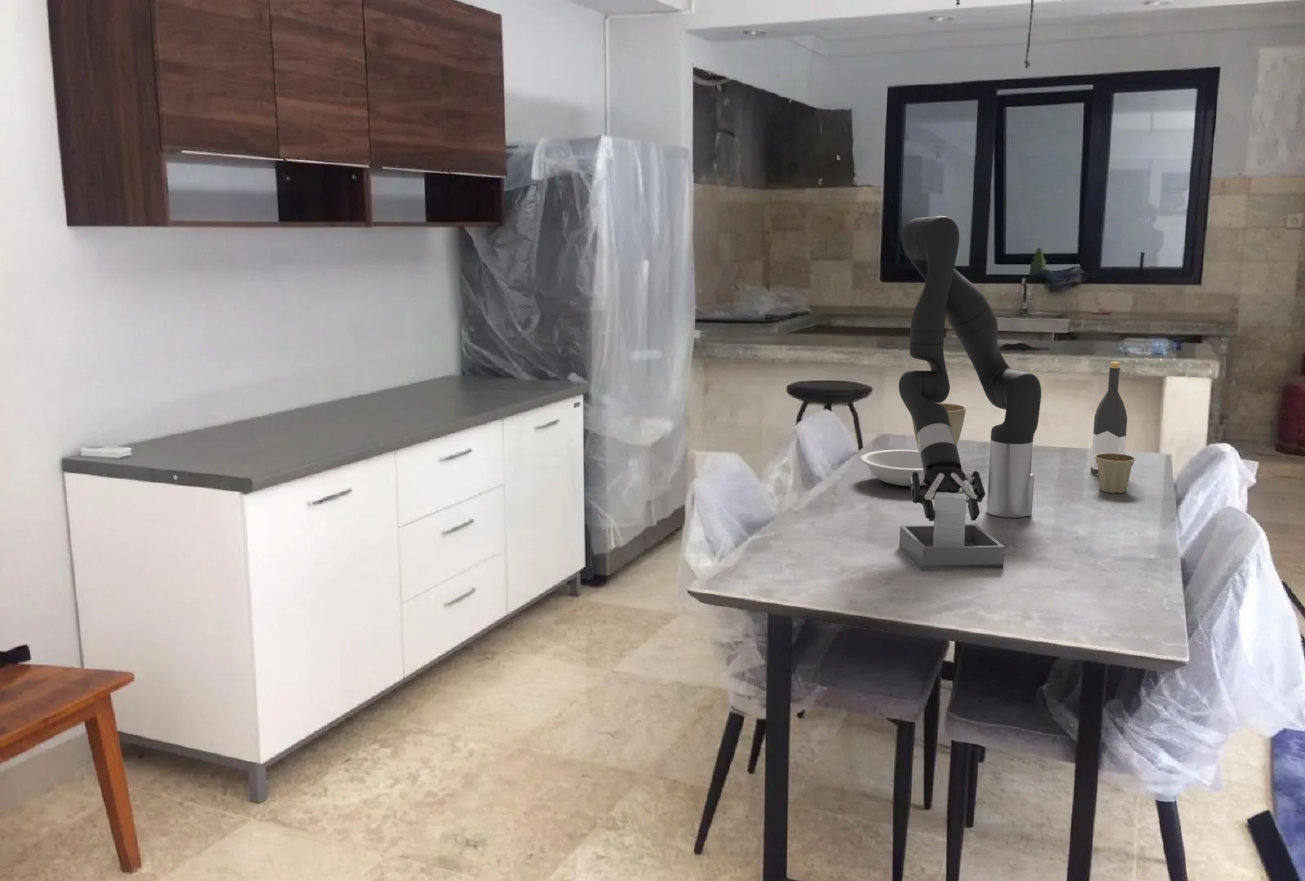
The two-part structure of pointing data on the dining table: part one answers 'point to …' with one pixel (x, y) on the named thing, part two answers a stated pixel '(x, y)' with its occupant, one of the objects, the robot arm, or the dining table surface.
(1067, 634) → the dining table surface
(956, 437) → the plant pot
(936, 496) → the skincare box
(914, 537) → the gray square tray
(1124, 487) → the flower pot
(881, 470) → the soup bowl
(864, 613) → the dining table surface
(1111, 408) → the wine bottle
